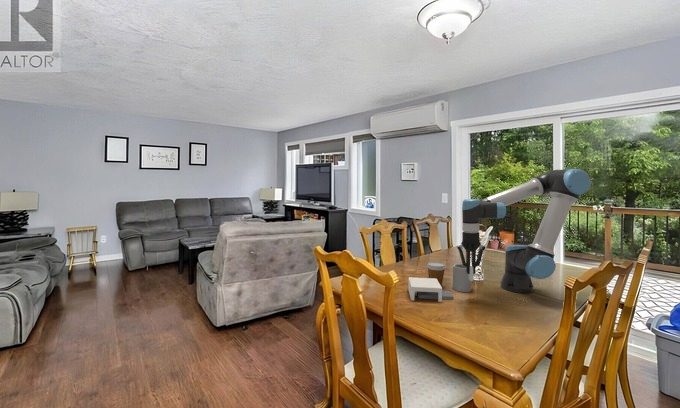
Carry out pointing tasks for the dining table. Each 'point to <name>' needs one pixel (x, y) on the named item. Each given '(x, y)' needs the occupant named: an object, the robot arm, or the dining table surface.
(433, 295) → the tile
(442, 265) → the disposable coffee cup
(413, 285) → the shelf
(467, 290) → the cup
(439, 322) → the dining table surface
